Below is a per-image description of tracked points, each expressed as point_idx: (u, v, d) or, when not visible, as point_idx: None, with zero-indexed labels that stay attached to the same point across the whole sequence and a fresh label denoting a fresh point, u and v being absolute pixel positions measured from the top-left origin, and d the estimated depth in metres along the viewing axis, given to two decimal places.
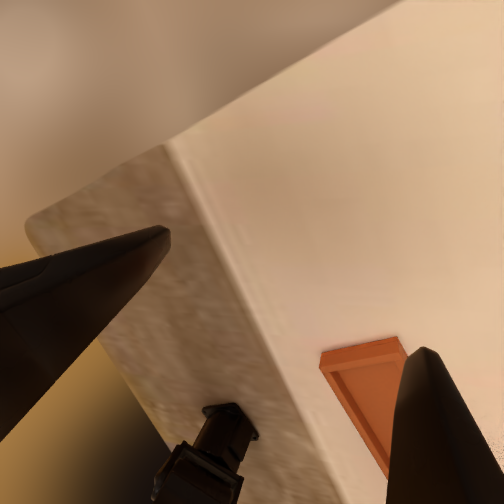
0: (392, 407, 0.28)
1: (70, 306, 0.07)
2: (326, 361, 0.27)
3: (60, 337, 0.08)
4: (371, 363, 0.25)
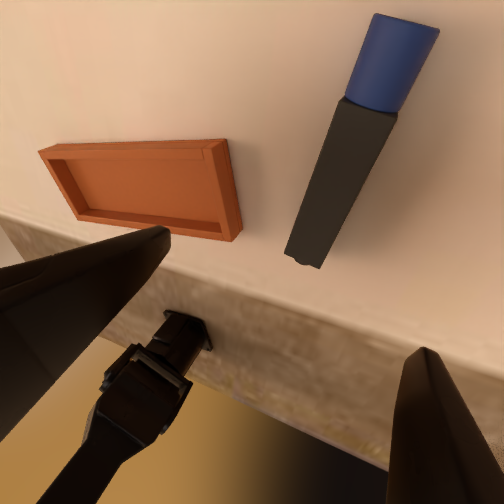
0: (120, 183, 0.26)
1: (70, 306, 0.07)
2: None
3: (60, 337, 0.08)
4: (56, 178, 0.28)
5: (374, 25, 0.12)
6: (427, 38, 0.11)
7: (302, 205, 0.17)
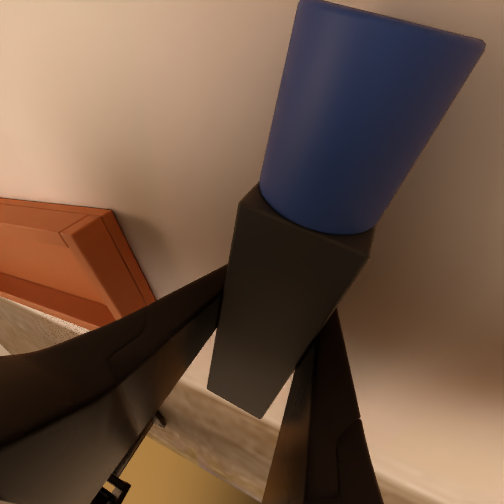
0: (4, 247, 0.19)
1: (167, 361, 0.07)
2: None
3: (153, 393, 0.07)
4: None
5: (297, 30, 0.04)
6: (450, 70, 0.04)
7: (215, 344, 0.10)
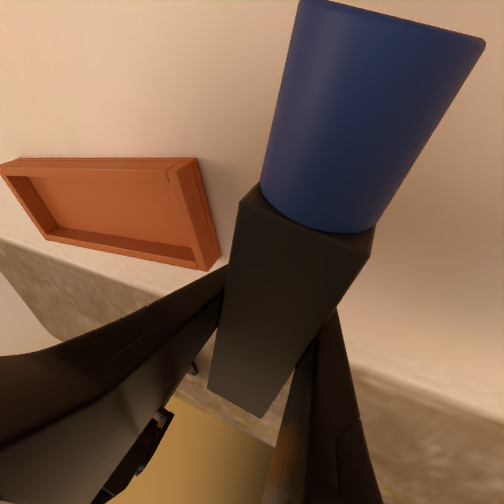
0: (87, 201, 0.24)
1: (167, 361, 0.07)
2: None
3: (153, 393, 0.07)
4: (17, 195, 0.25)
5: (298, 29, 0.04)
6: (450, 69, 0.04)
7: (216, 344, 0.10)
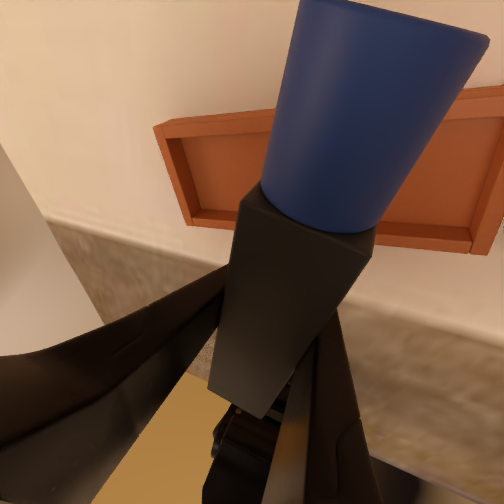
0: None
1: (167, 361, 0.07)
2: None
3: (153, 393, 0.07)
4: (172, 166, 0.20)
5: (299, 26, 0.04)
6: (454, 66, 0.04)
7: (216, 344, 0.10)
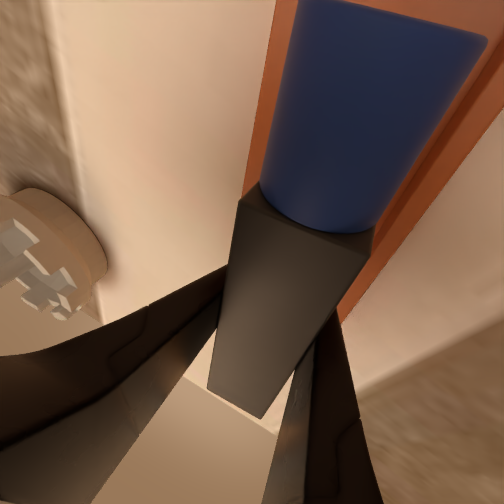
0: None
1: (167, 361, 0.07)
2: None
3: (153, 393, 0.07)
4: None
5: (297, 26, 0.04)
6: (452, 66, 0.04)
7: (215, 344, 0.10)
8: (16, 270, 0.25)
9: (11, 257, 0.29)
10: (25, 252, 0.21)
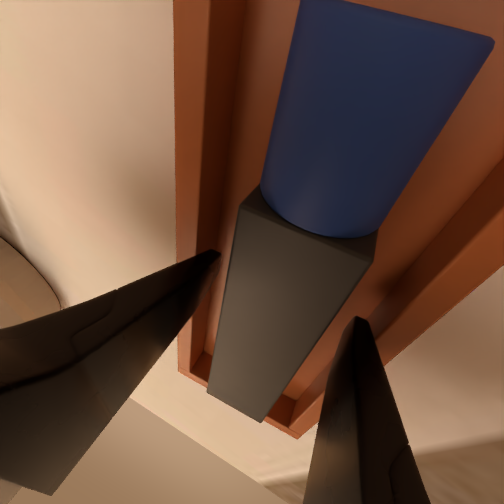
0: None
1: (135, 343, 0.07)
2: None
3: (123, 375, 0.07)
4: None
5: (299, 27, 0.04)
6: (458, 69, 0.03)
7: (215, 348, 0.10)
8: None
9: None
10: None
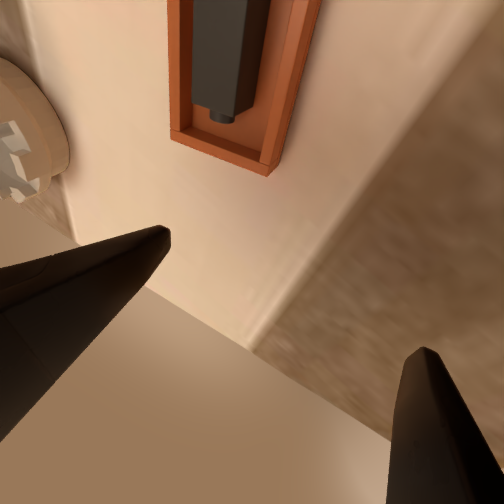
0: None
1: (70, 306, 0.07)
2: None
3: (60, 337, 0.08)
4: (202, 143, 0.19)
5: None
6: None
7: (194, 4, 0.13)
8: None
9: None
10: None
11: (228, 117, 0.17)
